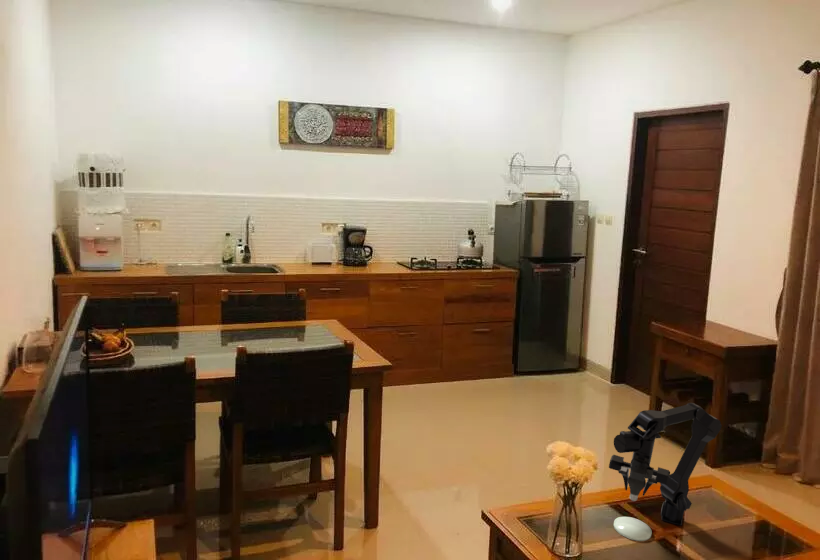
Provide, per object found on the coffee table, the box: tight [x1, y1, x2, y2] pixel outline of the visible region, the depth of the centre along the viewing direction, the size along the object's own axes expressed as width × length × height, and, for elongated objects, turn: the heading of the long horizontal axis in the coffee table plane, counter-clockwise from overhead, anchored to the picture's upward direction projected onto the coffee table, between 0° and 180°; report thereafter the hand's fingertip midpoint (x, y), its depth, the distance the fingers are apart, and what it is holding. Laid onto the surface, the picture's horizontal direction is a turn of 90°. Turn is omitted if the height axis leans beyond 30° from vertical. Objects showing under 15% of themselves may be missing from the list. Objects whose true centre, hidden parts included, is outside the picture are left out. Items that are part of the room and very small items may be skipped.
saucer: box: [613, 516, 653, 542], centre depth 219 cm, size 12×12×1 cm
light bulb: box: [628, 475, 647, 502], centre depth 218 cm, size 6×6×10 cm
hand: (634, 492), depth 219 cm, fingers closed on light bulb, 5 cm apart
